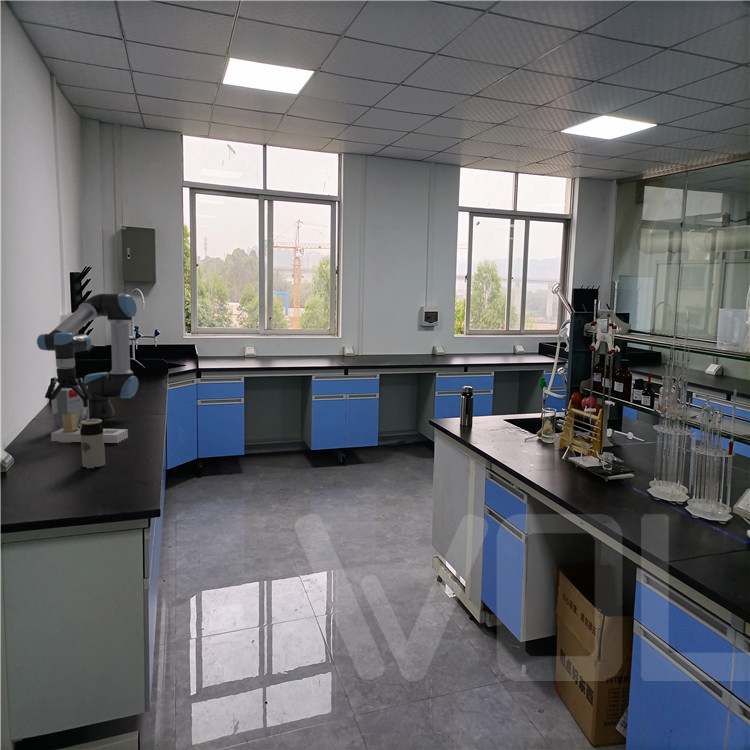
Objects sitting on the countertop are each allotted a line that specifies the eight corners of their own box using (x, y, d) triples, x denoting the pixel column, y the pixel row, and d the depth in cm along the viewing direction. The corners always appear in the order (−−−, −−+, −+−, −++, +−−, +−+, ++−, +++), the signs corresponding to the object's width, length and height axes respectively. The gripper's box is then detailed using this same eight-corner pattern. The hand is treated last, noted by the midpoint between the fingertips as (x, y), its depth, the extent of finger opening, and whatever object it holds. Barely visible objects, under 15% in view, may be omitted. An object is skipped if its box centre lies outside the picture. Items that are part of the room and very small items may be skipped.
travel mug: (97, 461, 228) (94, 417, 225) (109, 464, 224) (107, 420, 221) (78, 466, 221) (75, 421, 218) (90, 470, 217) (87, 424, 215)
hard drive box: (68, 432, 271) (65, 391, 267) (54, 431, 272) (51, 390, 269) (90, 424, 286) (88, 385, 283) (77, 423, 287) (74, 384, 284)
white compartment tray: (64, 436, 264) (64, 427, 263) (128, 437, 262) (127, 429, 262) (51, 441, 254) (50, 433, 253) (117, 443, 253) (116, 435, 252)
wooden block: (69, 438, 261) (67, 412, 259) (77, 438, 261) (76, 412, 259) (64, 440, 257) (62, 414, 255) (72, 440, 257) (70, 414, 255)
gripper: (33, 368, 250) (37, 415, 254) (88, 369, 249) (92, 416, 253) (44, 365, 258) (48, 411, 261) (97, 366, 256) (101, 412, 260)
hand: (69, 413), depth 257 cm, fingers open, 13 cm apart
